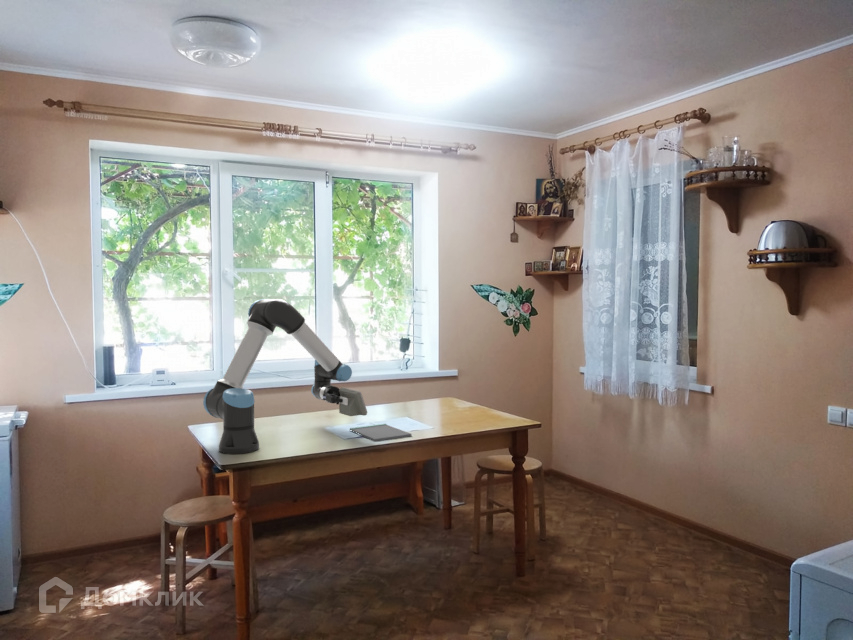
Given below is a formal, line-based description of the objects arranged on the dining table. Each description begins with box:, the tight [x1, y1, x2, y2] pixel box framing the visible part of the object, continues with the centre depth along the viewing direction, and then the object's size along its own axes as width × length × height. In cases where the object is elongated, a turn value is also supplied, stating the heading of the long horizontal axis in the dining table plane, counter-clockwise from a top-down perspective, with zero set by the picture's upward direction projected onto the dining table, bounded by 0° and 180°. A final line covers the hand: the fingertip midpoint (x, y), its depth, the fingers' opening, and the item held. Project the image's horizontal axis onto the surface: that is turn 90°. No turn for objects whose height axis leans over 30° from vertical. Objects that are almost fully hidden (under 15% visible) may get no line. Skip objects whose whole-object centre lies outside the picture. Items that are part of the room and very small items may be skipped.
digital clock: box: [338, 387, 368, 417], centre depth 256 cm, size 16×9×11 cm, turn 27°
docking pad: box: [349, 423, 412, 442], centre depth 264 cm, size 18×24×1 cm
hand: (353, 401), depth 252 cm, fingers closed on digital clock, 5 cm apart
